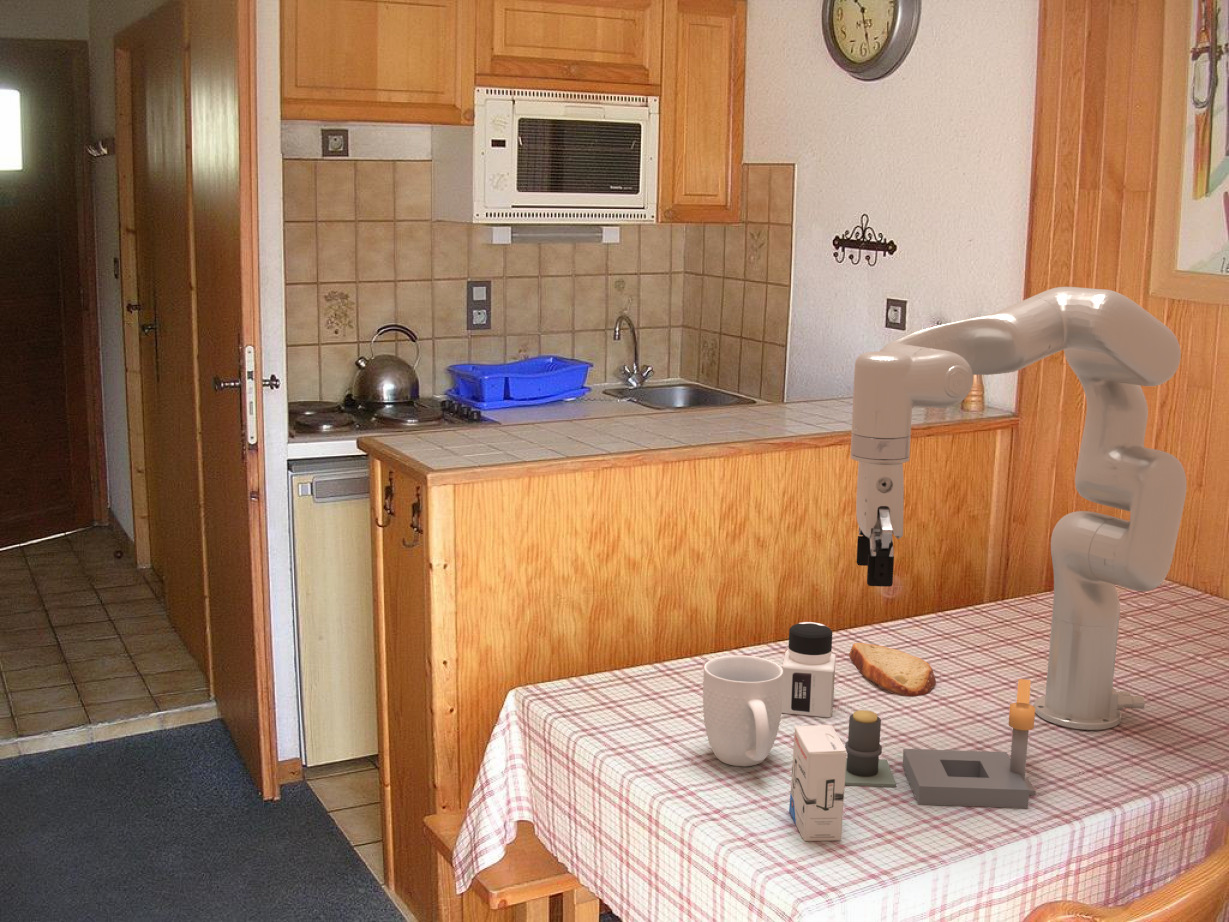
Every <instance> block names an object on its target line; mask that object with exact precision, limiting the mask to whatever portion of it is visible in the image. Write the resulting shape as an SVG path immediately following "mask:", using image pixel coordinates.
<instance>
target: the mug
mask: <svg viewBox="0 0 1229 922" xmlns="http://www.w3.org/2000/svg"><path fill="white" fill-rule="evenodd" d="M782 698H783V670H782V666H780V665H779V664H777V663H776V662H774V661H773V660H769V659H767V658H765V657H764V658H762V657H758V656H753V655H739V654H738V655H737V654H736V655H735V654H734V655H724V656H720V657H719V656H718V657H715V658H712V659H710V660H708V661H706V663H705V664H704V666H703V682H702V709H703V710H702V711H703V714H702V715H703V723H704V728H705V733H706V736H707V741H708V744H709V746H710V748H711V750H712V751H713V754H714V756H716V759H718V760H719V761H720V762H722V763H724V764H727V765H729V766H734V767H752V766H755V765H759V764H761V763H762V762H764V760H765V759H766V758H767V757H768V755H769V754H770V752H771V750H772V748H773V746H774V745H775V742H776V739H777V735H778V732H779V730H780V729H779V727H780V724H781V716H782V713H781V712H782Z"/></svg>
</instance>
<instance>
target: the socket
mask: <svg viewBox="0 0 1229 922" xmlns="http://www.w3.org/2000/svg"><path fill="white" fill-rule="evenodd" d="M1029 731H1030V730H1018V729H1014V728H1012V734H1011V746H1010V747H1011V748H1010V749H1011V750H1010V756H1009V754H1008V752H1007V751H987V750H986V751H984V750H983V751H982V750H951V749H928V748H927V749H924V748H922V749H921V748H920V749H919V748H903V752H902V768H903V771H904V773H905V774H906V775H905V776H906V778H907V780H908V783H909V785H910V787H911V790H912V792H913V795H914V797H915V800H916V802H917V805H927V806H928V805H931V806H932V805H934V806H957V807H958V806H960V807H987V808H989V807H990V808H1014V809H1029V802H1030V796H1036V793H1037V792H1036V791H1037V790H1036V789H1035V788H1034V786H1033V784H1032V783H1031V781H1030V779H1029V778H1028V777H1026V768H1027V756H1028V745H1029V744H1028V743H1029Z"/></svg>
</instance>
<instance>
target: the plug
mask: <svg viewBox="0 0 1229 922" xmlns="http://www.w3.org/2000/svg"><path fill="white" fill-rule="evenodd" d="M848 721H849V722H848V733H847V736H848V737H847V738H848V739H847V741H846V742H845V744H844V747H845V748H846V752H847V756H846V758H847V771H848V772H849V773H851V774H853V775H856V776H861V777H870V776H874V775H876V774H877V773H878V763H879V759H880V756H881V755H882V753H883V752H882V751H883V746H882V745H881V744H880V742H881V727H882V726H881V725H882V720H881V718H880V717H879V715H878V714H877V713H876V712H874V711H871V710H866V709H865V710H864V709H863V710H861V709H859V710H855V711H853V713H852V714H851V715H850V716H849V718H848Z"/></svg>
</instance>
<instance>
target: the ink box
mask: <svg viewBox="0 0 1229 922" xmlns="http://www.w3.org/2000/svg"><path fill="white" fill-rule="evenodd" d="M793 734H794V736H793V748H792V749H793V751H792V765H791V766H792V767H791V781H790V782H791V784H790V795H789V808H788V809H789V810H788V811H789V814H790V816H791V817H792V820H793V821H794V824H795V825H796V828H797V829H798V832H799V833H800V836H801V839H803V841H804V842H817V841H818V842H822V841H823V842H826V841H827V842H828V841H842V834H843V832H842V831H843V830H842V829H843V817H844V802H845V801H844V800H845V787H846V785H845V772H846V758H847V752H846V748H845V744H843V742H842V740H841V739H840V736H839V734H838V733H837V731H836V729H835V728H834V726H833V725H831V724H818V725H815V724H814V725H813V724H812V725H795V726H794V733H793Z"/></svg>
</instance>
